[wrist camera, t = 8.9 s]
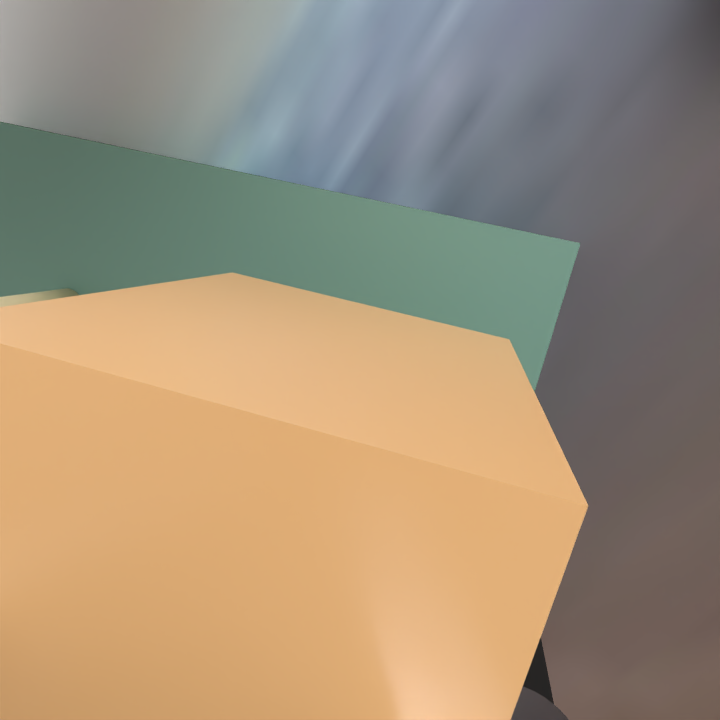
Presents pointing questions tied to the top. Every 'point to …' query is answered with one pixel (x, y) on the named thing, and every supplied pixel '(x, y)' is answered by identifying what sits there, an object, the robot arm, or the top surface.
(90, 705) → the block
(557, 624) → the top surface
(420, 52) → the top surface
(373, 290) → the header board
